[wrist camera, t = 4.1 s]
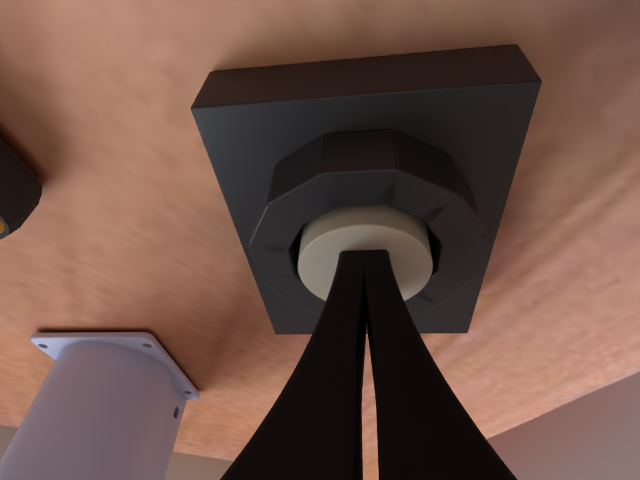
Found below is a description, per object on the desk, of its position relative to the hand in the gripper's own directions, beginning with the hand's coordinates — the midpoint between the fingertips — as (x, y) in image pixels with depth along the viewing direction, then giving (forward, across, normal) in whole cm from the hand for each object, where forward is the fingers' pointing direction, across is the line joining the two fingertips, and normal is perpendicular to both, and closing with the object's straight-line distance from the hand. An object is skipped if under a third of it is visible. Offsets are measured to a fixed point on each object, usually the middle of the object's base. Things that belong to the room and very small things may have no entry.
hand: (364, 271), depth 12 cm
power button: (+2, 0, 0) cm, 2 cm away
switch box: (+4, 0, +2) cm, 5 cm away
